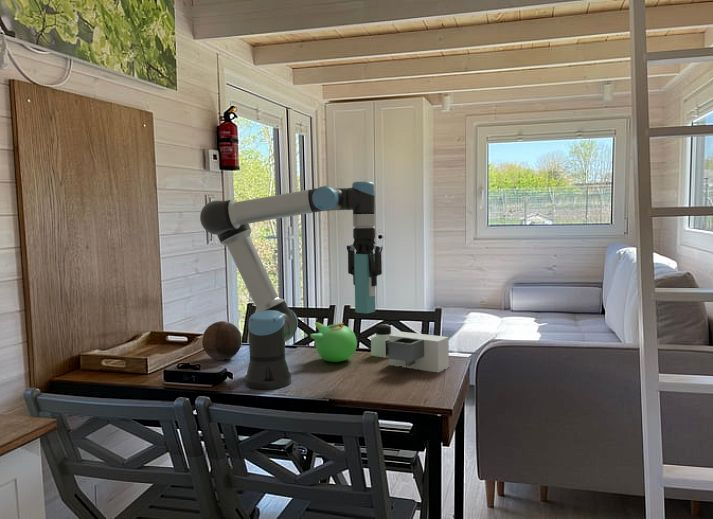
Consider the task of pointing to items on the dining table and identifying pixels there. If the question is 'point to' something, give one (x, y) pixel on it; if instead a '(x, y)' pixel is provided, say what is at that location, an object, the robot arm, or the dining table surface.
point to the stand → (427, 352)
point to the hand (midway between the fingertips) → (365, 295)
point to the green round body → (334, 342)
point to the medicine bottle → (381, 341)
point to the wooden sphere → (221, 340)
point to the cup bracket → (406, 350)
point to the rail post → (363, 285)
